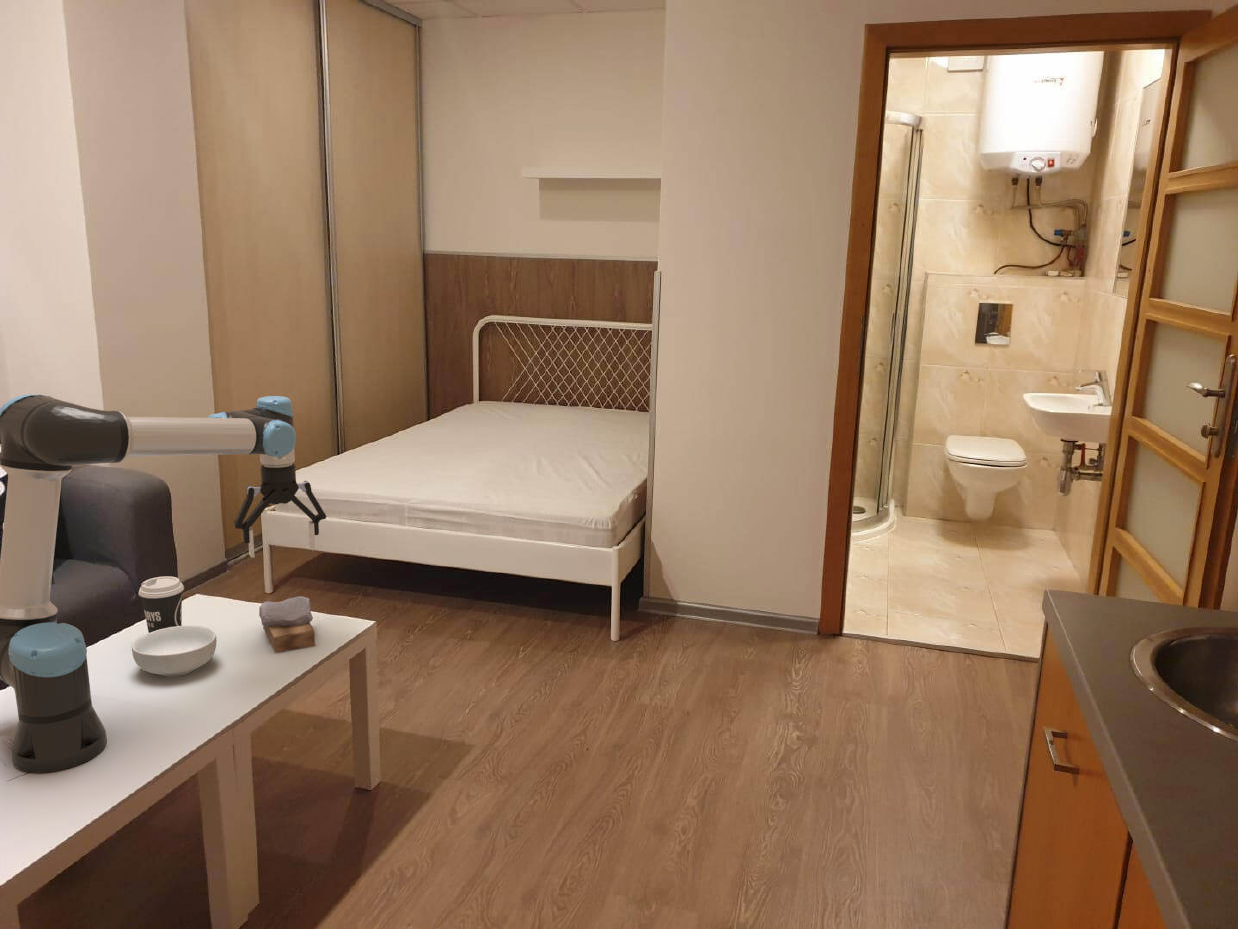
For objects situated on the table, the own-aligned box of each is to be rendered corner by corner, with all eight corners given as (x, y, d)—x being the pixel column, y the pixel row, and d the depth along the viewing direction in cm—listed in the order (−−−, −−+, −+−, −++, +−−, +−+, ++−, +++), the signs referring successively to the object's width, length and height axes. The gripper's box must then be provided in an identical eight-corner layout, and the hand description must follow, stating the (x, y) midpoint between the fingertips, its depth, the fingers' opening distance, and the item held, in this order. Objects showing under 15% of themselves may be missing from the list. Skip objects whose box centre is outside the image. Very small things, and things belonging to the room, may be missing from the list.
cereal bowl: (233, 656, 218) (230, 627, 216) (191, 689, 202) (188, 658, 200) (164, 650, 220) (161, 621, 219) (117, 682, 204) (114, 652, 203)
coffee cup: (156, 633, 229) (151, 574, 226) (195, 635, 229) (190, 575, 225) (135, 650, 220) (129, 588, 216) (176, 651, 219) (170, 590, 216)
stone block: (315, 630, 227) (310, 607, 236) (313, 613, 225) (308, 591, 234) (262, 638, 223) (259, 615, 231) (260, 621, 221) (257, 598, 229)
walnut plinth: (274, 653, 220) (273, 636, 219) (263, 628, 234) (262, 612, 233) (315, 645, 224) (314, 630, 223) (301, 621, 238) (300, 606, 237)
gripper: (221, 472, 210) (227, 564, 215) (336, 462, 222) (340, 550, 227) (217, 465, 216) (223, 554, 221) (329, 456, 228) (333, 541, 233)
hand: (282, 552), depth 224 cm, fingers open, 13 cm apart
